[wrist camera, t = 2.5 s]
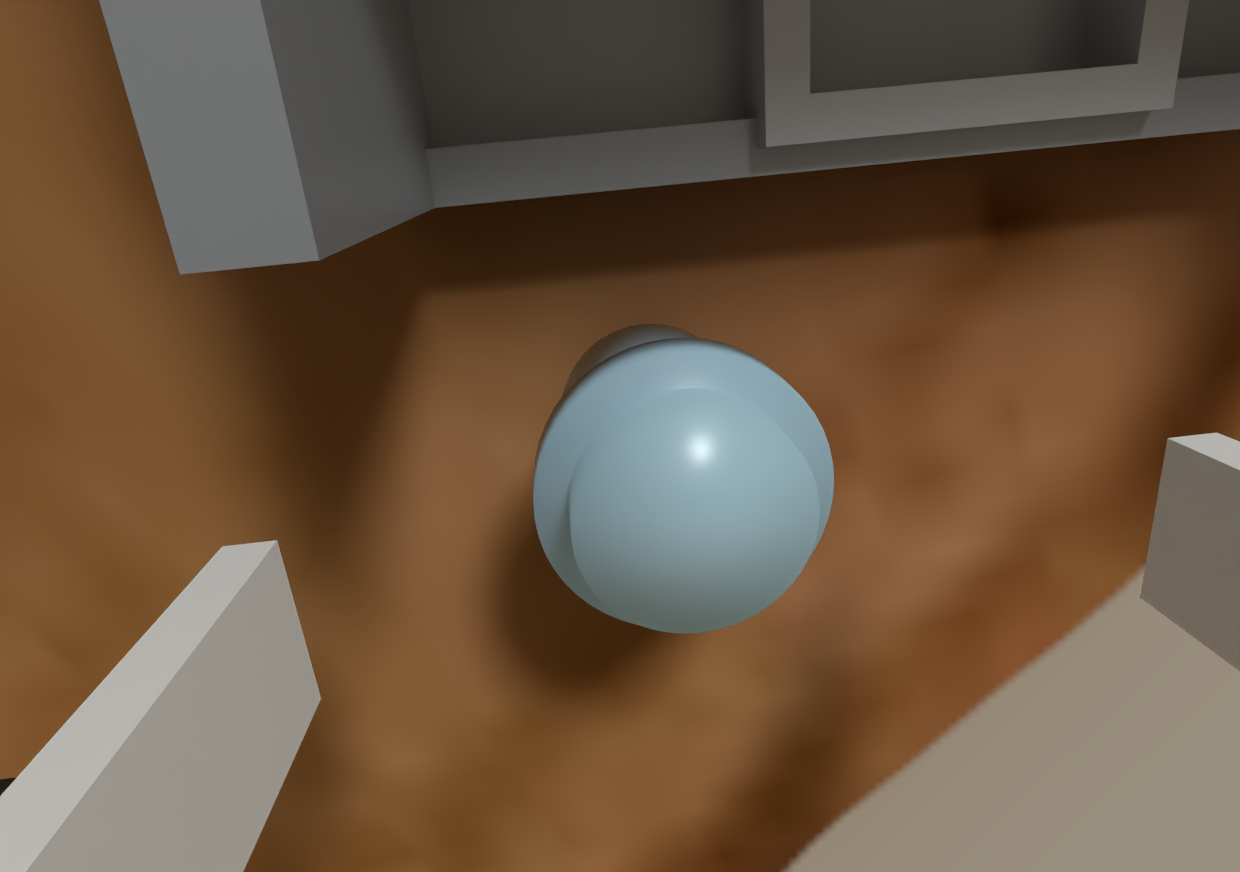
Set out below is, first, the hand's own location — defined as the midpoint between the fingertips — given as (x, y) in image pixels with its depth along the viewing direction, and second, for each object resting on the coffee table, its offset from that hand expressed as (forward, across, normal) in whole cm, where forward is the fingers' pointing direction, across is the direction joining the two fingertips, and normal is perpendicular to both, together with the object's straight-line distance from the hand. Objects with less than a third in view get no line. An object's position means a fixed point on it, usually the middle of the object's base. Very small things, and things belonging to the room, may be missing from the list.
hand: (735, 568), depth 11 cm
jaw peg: (+7, 0, 0) cm, 7 cm away
